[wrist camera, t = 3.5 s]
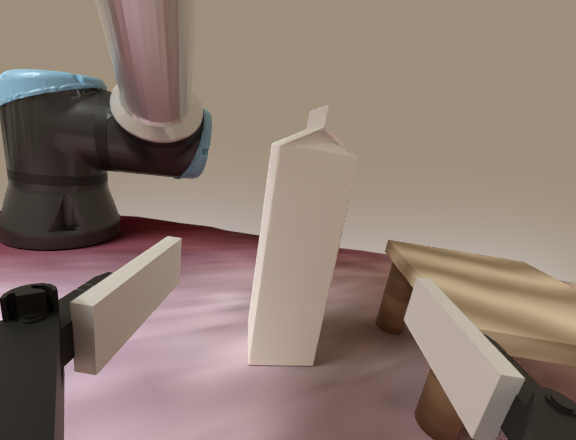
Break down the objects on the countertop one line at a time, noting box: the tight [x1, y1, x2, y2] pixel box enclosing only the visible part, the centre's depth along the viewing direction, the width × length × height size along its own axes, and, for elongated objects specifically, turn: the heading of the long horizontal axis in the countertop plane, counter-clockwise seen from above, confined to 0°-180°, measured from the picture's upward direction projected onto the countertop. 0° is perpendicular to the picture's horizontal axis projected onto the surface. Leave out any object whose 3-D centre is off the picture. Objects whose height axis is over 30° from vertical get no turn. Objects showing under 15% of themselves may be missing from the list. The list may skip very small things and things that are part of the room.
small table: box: [376, 240, 576, 440], centre depth 26 cm, size 16×16×10 cm
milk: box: [248, 105, 358, 366], centre depth 24 cm, size 6×6×22 cm
